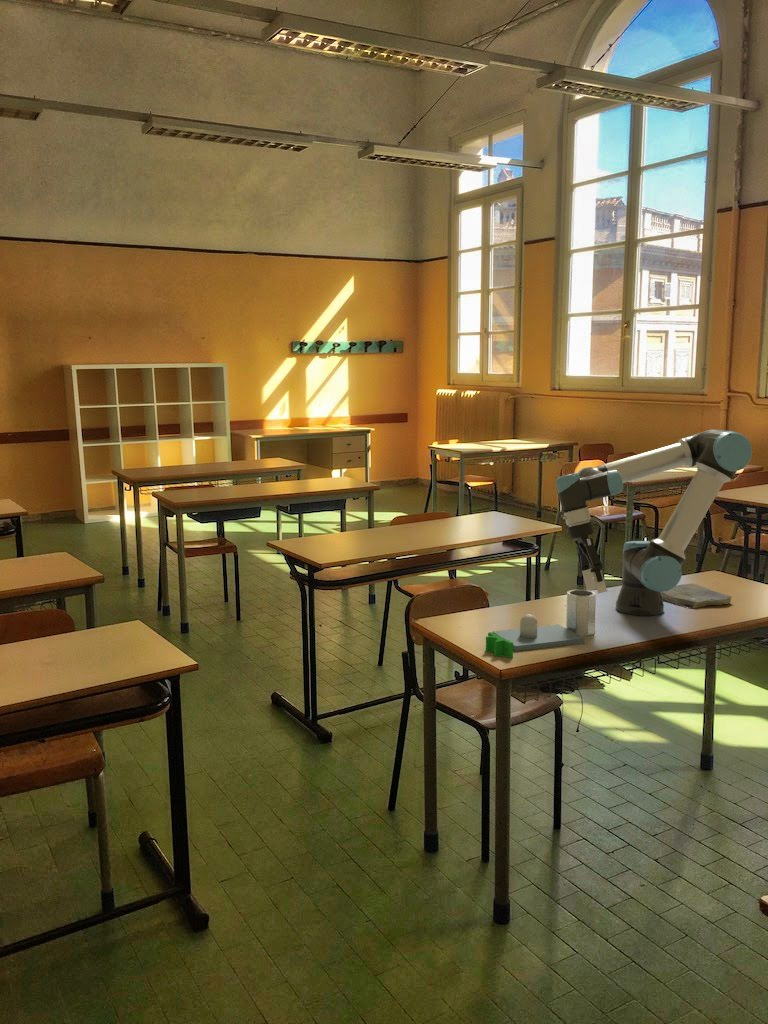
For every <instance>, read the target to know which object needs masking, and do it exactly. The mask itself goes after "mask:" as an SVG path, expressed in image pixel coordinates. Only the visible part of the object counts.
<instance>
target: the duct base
mask: <svg viewBox="0 0 768 1024" xmlns="http://www.w3.org/2000/svg"><path fill="white" fill-rule="evenodd" d="M492 633H494V634H496V635H498V636H500V637H502V638H504V639H507V640H509V641H511V642H513V652H519V651H520V652H521V651H529V650H538V649H546V648H547V647H548V648H554V647H555V646H556V647H564V646H563V645H565V646H572V645H580V644H581V643H582V644H585V637H583V636H579V635H577V634H575V633H573V632H572V631H570V630H568V629H566V627H564V626H563V625H560V624H551V625H550V624H549V625H540V626H538V619H537V617H536V616H535V615H534V614H531V613H526V614H524V615H522V617H521V618H520V621H519V628H512V629H504V630H503V629H502V630H494V631H492ZM556 647H555V648H556Z"/></svg>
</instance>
